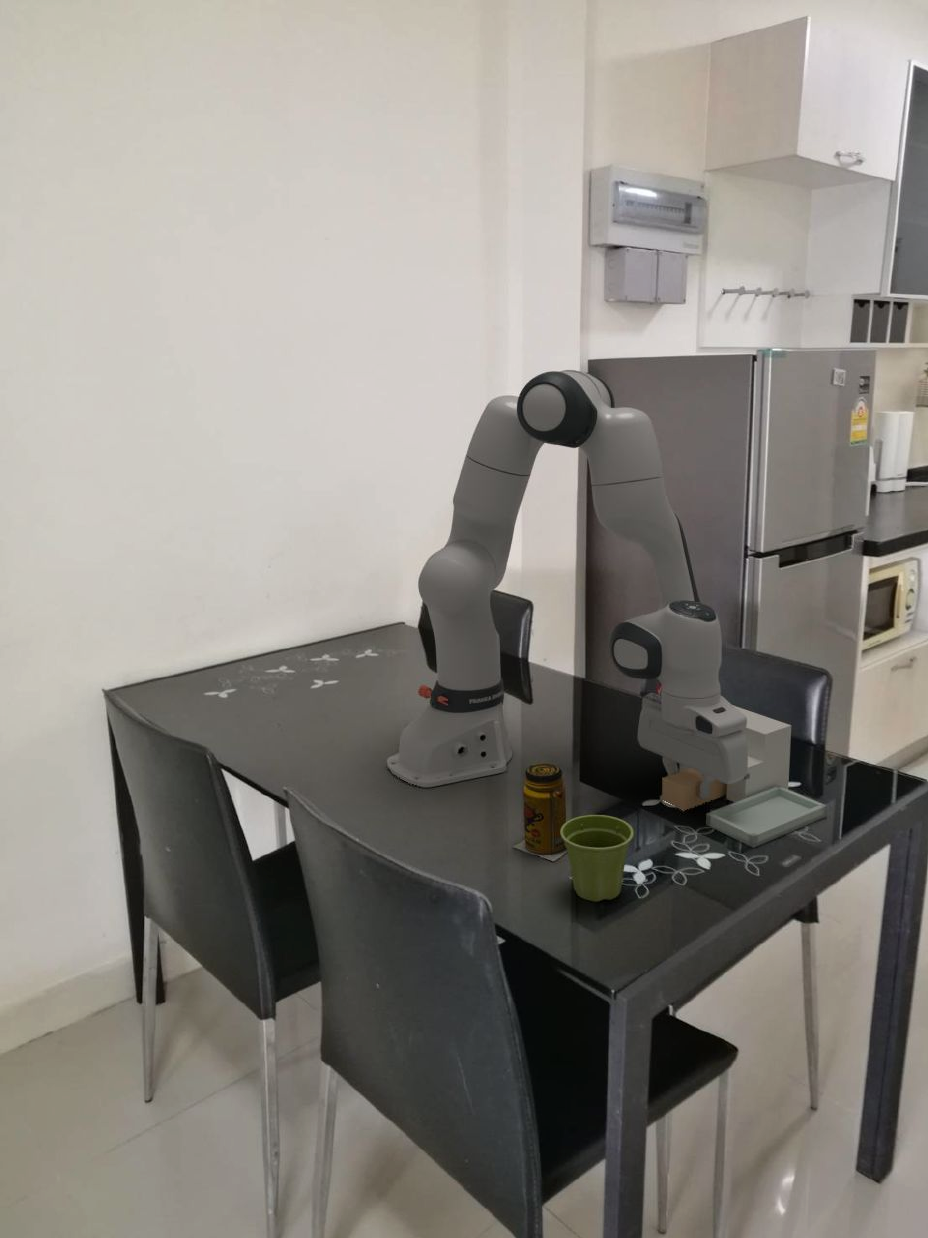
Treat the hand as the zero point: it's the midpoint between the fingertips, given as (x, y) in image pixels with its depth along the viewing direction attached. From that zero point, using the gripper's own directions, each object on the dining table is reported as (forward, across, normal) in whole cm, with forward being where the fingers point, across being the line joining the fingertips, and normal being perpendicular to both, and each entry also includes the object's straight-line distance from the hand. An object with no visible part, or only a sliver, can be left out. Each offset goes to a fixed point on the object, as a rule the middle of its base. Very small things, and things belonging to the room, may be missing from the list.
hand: (688, 790), depth 154 cm
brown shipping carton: (+2, 0, +2) cm, 3 cm away
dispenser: (+2, 0, +11) cm, 11 cm away
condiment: (+2, -2, -26) cm, 26 cm away
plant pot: (+2, +12, -29) cm, 31 cm away
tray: (+2, +12, +4) cm, 13 cm away
